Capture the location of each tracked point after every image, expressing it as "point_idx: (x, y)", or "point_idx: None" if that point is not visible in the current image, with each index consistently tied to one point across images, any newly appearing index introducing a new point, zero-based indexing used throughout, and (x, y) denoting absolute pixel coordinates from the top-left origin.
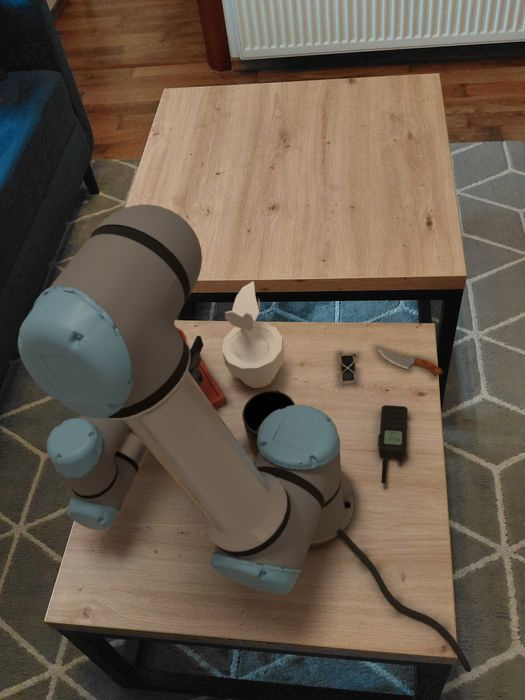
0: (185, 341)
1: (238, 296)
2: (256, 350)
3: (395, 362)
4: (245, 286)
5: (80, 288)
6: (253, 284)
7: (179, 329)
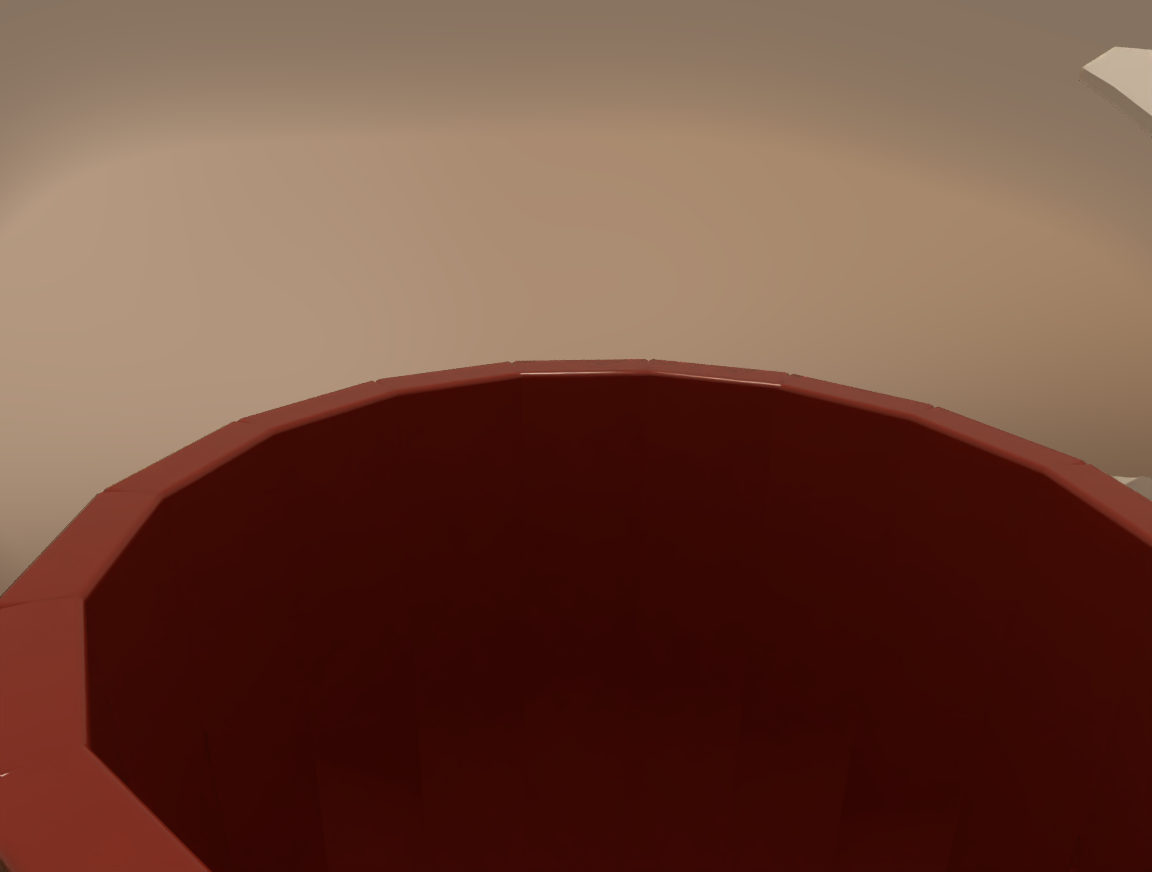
0: (1053, 451)
1: (1136, 87)
2: None
3: None
4: (1099, 62)
5: None
6: (1148, 50)
7: (728, 368)
